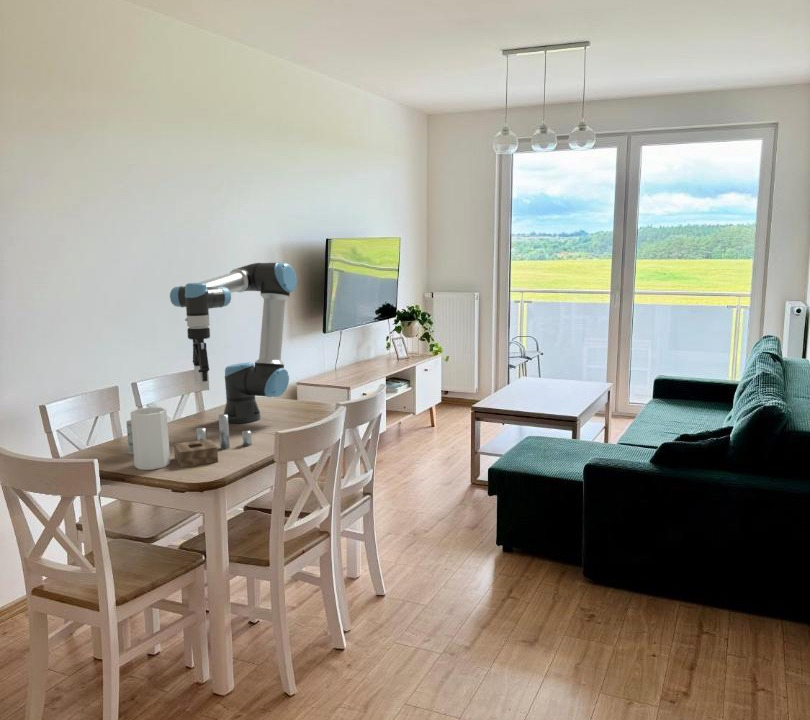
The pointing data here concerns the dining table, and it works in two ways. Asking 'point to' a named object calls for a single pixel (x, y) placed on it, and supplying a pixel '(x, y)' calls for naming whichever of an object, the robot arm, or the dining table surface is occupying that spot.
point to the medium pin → (201, 434)
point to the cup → (150, 438)
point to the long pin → (224, 431)
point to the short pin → (247, 438)
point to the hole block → (195, 452)
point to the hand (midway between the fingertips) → (202, 387)
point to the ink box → (130, 437)
